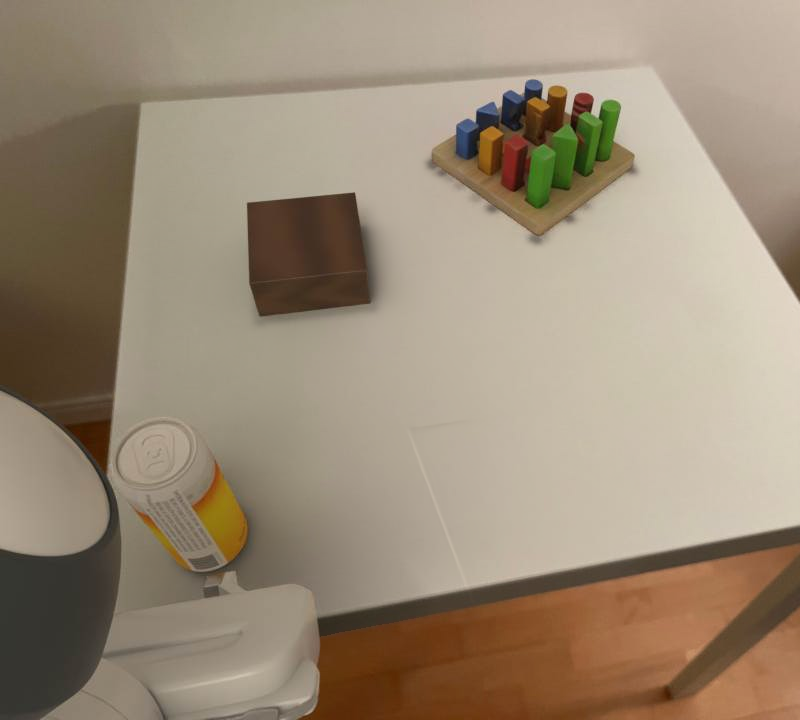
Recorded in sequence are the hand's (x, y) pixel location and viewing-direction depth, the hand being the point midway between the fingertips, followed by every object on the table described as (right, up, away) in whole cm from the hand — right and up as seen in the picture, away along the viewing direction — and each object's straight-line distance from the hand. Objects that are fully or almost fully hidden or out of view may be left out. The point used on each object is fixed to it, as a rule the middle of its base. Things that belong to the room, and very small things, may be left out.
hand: (136, 599), depth 41 cm
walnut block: (+1, +23, +36) cm, 43 cm away
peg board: (+25, +37, +48) cm, 65 cm away
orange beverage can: (-3, -1, +19) cm, 20 cm away
